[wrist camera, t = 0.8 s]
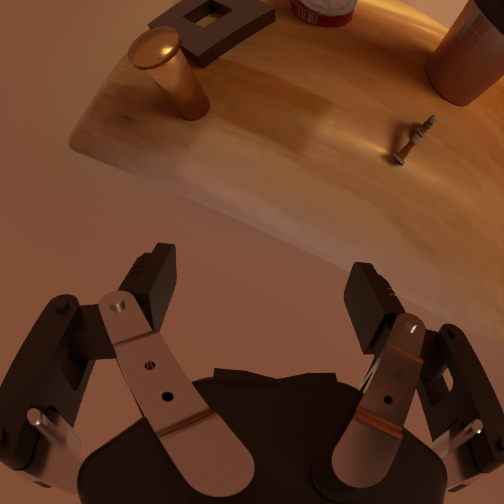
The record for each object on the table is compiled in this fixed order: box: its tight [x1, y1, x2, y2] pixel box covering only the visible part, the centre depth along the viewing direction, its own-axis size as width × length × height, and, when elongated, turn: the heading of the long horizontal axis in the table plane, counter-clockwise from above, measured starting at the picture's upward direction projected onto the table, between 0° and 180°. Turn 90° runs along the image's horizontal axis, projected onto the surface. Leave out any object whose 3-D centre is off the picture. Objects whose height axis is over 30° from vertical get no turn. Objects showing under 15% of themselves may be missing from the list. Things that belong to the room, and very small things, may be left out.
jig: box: [148, 0, 276, 69], centre depth 31 cm, size 14×14×3 cm
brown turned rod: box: [393, 115, 436, 165], centre depth 28 cm, size 2×8×4 cm, turn 137°
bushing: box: [128, 26, 210, 121], centre depth 26 cm, size 5×5×14 cm
